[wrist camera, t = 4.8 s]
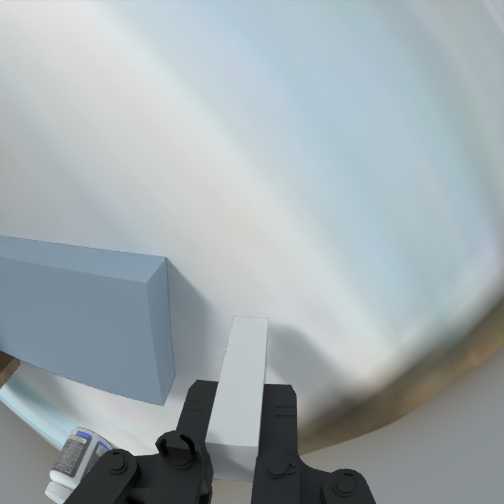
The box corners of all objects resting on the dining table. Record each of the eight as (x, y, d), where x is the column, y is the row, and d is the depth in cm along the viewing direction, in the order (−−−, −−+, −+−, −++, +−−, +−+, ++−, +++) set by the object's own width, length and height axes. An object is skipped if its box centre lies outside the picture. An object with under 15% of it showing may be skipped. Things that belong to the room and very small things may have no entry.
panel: (9, 323, 19) (-12, 344, 16) (-16, 230, 15) (-45, 246, 13) (177, 370, 18) (163, 406, 15) (169, 253, 15) (146, 282, 12)
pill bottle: (71, 435, 24) (41, 494, 16) (75, 420, 22) (39, 486, 14) (110, 458, 24) (85, 518, 17) (119, 445, 23) (90, 515, 15)
